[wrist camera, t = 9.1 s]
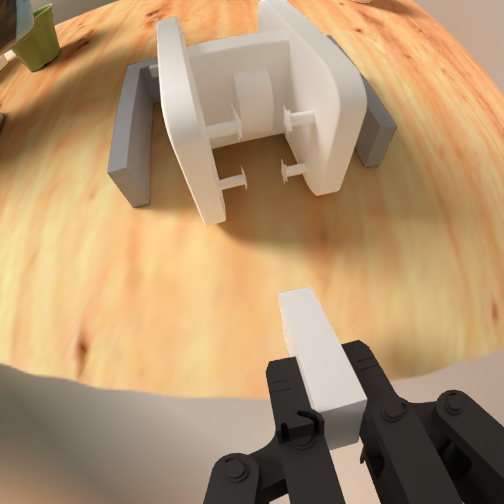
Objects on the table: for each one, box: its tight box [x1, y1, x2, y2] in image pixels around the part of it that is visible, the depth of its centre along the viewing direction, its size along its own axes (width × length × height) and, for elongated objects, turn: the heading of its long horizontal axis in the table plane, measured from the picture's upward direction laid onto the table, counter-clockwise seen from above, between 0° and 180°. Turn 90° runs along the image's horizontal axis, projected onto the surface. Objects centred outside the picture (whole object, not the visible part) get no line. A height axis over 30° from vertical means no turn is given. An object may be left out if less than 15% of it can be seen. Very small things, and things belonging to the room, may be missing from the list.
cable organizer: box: [156, 0, 367, 226], centre depth 19 cm, size 15×11×12 cm
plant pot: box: [11, 4, 60, 71], centre depth 33 cm, size 12×12×11 cm
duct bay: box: [108, 35, 397, 208], centre depth 24 cm, size 14×21×5 cm
